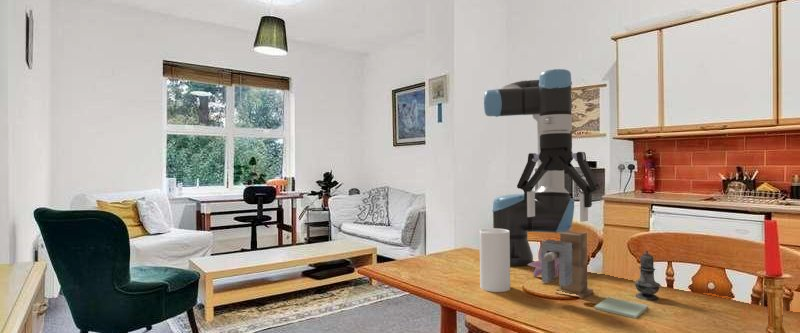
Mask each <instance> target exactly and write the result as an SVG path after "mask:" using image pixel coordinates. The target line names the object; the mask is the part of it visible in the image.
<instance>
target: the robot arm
mask: <svg viewBox="0 0 800 333" xmlns="http://www.w3.org/2000/svg"><path fill="white" fill-rule="evenodd" d="M572 85H573V81H572V73H571V71H570V70H568V69H564V68H563V69H562V68H558V69H557V68H556V69H547V70H545V71H541V73H540V74H539V79H534V80H532V79H530V80H520V81H515V82H512V83H508V84H506V85H504V86H502V87H501V88H494V89H488V90H486V91H485V92H484V97H483V109H484V111H483V112H484V114H485V116H486V117H495V118H497V117H511V116H531V115H532V118H533V119H534V120H535V121H536V122H537V127H536V128H537V153H535V152H534V153H533V152H529V153H528V154H527V162H526V165H525V167H524V169H523V170H522V172H521V176H520V178H519V180H518V183H517V185H516V188H517V189H520V190H522V191H523V193H515V194H507V195H501V196H497V197H496V198H494V199H493V201H492V202H493V203H492V204H493V205H492V214H493V215H492V217H493V218H492V220H493V222H492V223H493V224H492V225H493V226H492V228H498V229H506V230H509V232H510V267H521V266H528V265H527V264H529V263H532V262H534V254H533V252H532V249H531V247H530V244H529V241H528V233H551V234H558V233H559V234H560V233H563V232H566V231H571V230H572V226H573V220H574V214H575V212H574V211H575V199H574V198H572V197H570V192H569V191H568V190H567V189H566V188H565V173H567V175H568V176H569V177H570V178H571V179H572V181H573V182H574V183H575V184H576V185H577V187H578V188H579V189H580V190H581V191H582V193H579V221H580V222H582V223H584V222H588V221H589V208H592V205H593V201H592V200H593V198H592V195H593V193H595V192H598V191H600V190H601V187H600V185H599V183H598V180H597V179H596V177H595V175H594V173H593V170H592V168H591V166H590V165H589V163H588V161H587V156H586V152H585V151H577V152H574V153H573V149H572V148H573V135H572V133H570V132H571V131H572V130H573V125H572V124H573V121H572V119H573V118H572V117H573V116H572V109H573V103H572ZM573 159H574V160H575V161H576V162H577V164H578V167H579V169H580V171H581V173H582V174H583V176H584V178H583V177H582V176H581V175H580V173H579V172H578V171H577V170H576V168H575V167H574V165H573V164H572V161H573ZM536 165H537V170H536V171H535V172H534V174H533V175H532V173H533V171H534V169H535V167H536ZM536 185H537V189H536V190H533V189H534V188H535V186H536Z"/></svg>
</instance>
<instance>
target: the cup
mask: <svg viewBox="0 0 800 333" xmlns="http://www.w3.org/2000/svg"><path fill="white" fill-rule="evenodd" d="M479 287H480V289H481V290H483V291H486V292H489V293H490V292H491V293H502V292H503V293H504V292H509V291H510V290H511V266H510V232H509V230H506V229H498V228H493V227H492V228H491V227H490V228H489V227H488V228H481V229H479Z"/></svg>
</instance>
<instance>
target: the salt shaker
mask: <svg viewBox="0 0 800 333" xmlns="http://www.w3.org/2000/svg"><path fill="white" fill-rule="evenodd" d="M638 269H639V270H640V271H639V272H640V273H639V274H640V275H639V278H638V280H634V283H633V284H634V285H635V288H636V290H637V291H638V293H636V294H635V298H637V299H640V300H644V301H653V302H654V301H656V302H657V301H659V300H660V297H659V296H657V295H656V294H657V293H658V292H659V290H660V287H661V286H662V285H661V283H659V282H657V281H656V280H655V270H656V268H654V257H653V255H651V254H650V253H649V251H648V250H646V251H645V253H644V254H643V253H642V254H641V256H640V266H639V268H638Z"/></svg>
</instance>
